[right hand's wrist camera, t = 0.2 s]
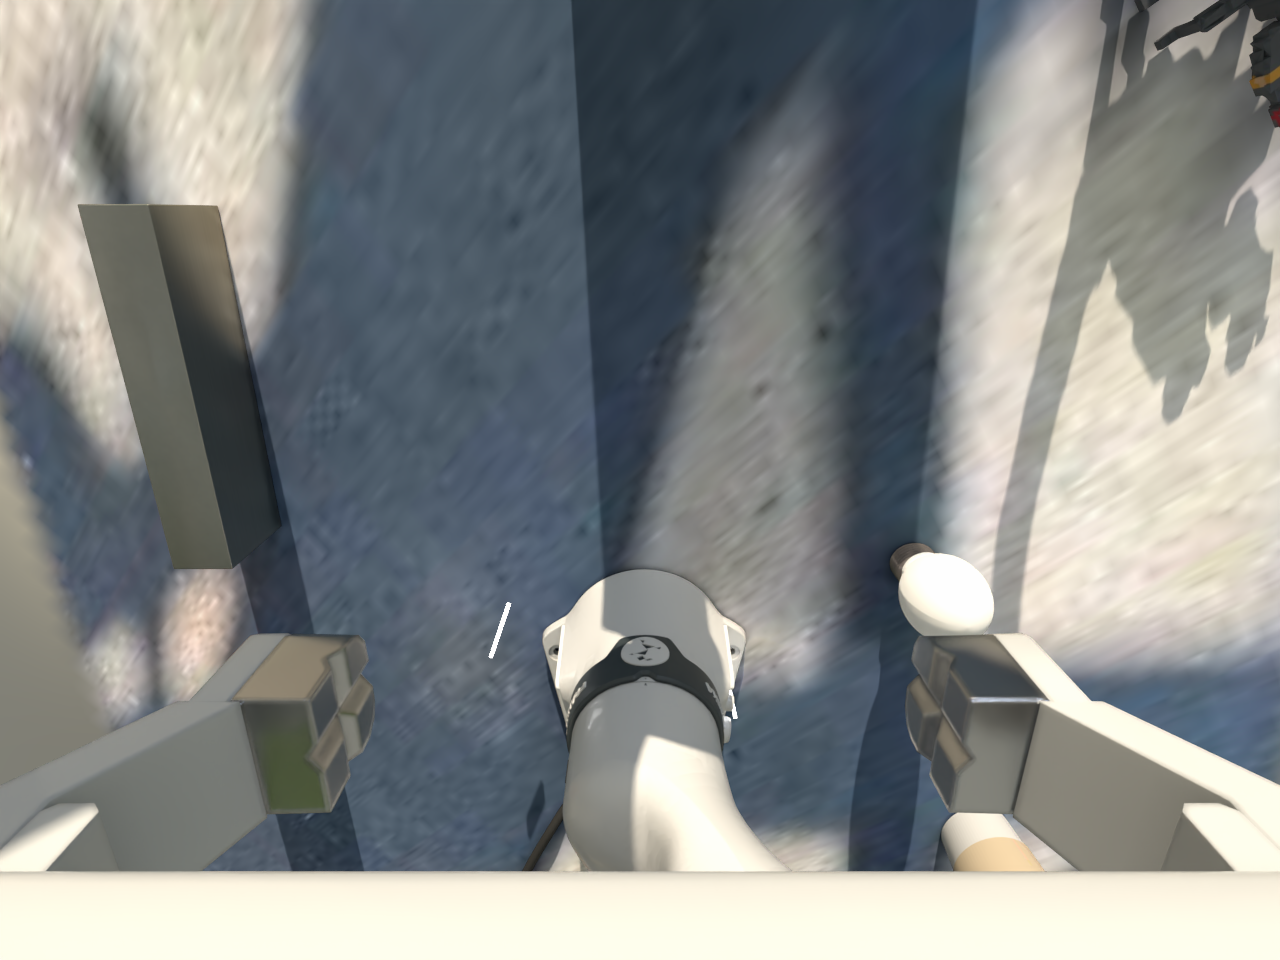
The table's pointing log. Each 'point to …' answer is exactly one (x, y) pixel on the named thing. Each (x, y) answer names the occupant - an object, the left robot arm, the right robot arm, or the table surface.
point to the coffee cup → (985, 844)
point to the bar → (186, 376)
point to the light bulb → (941, 592)
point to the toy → (1274, 47)
